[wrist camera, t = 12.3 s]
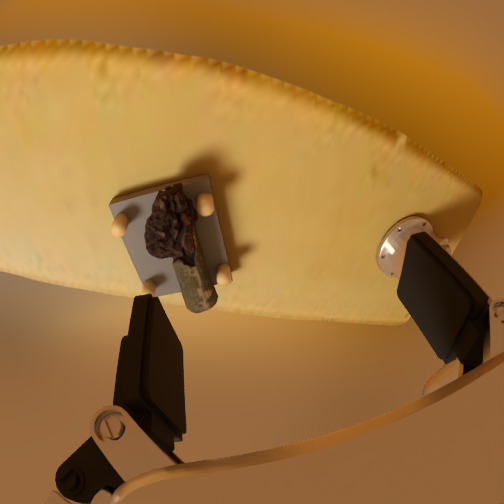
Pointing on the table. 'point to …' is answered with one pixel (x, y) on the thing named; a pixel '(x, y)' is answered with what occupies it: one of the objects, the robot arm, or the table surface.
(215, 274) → the pipe stand
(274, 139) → the table surface
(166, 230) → the dark elongated piece
